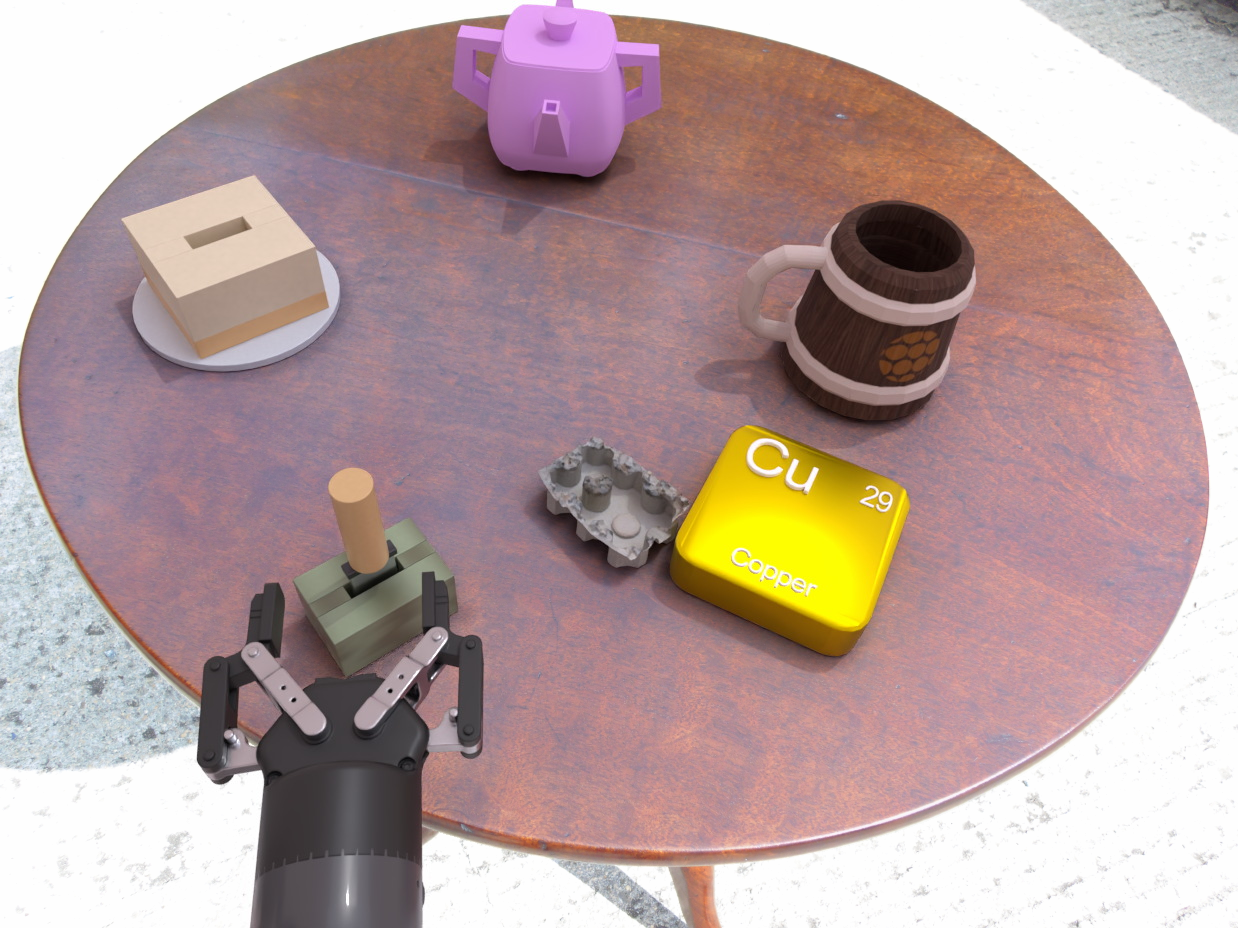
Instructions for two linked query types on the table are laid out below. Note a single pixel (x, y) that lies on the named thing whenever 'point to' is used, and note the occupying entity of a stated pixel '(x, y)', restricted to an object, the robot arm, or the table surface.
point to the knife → (361, 530)
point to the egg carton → (613, 501)
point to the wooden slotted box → (227, 264)
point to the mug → (870, 308)
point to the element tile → (791, 539)
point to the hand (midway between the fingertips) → (352, 583)
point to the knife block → (373, 601)
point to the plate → (247, 355)
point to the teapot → (556, 87)
